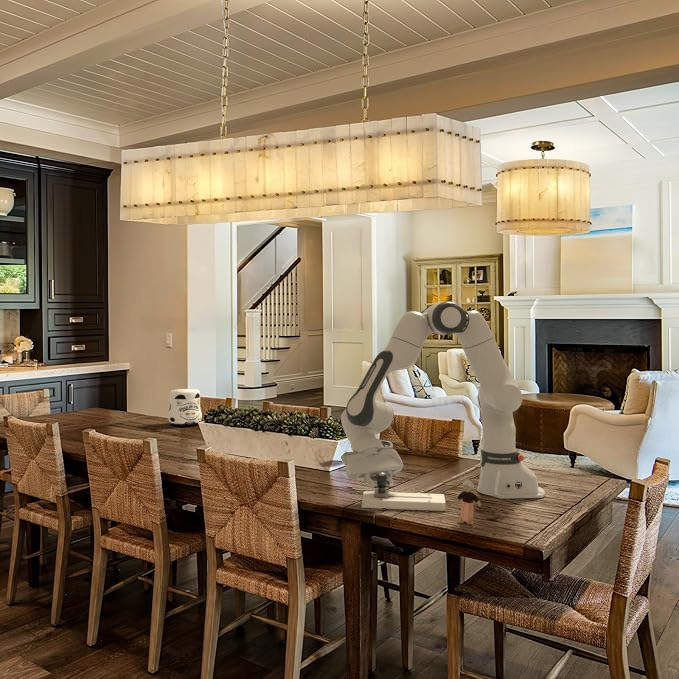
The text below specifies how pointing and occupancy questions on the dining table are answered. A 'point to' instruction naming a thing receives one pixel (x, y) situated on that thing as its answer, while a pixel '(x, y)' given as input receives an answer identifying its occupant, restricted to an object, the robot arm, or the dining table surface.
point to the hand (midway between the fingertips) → (382, 486)
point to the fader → (381, 485)
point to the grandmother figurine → (467, 502)
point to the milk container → (184, 407)
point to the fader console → (405, 501)
